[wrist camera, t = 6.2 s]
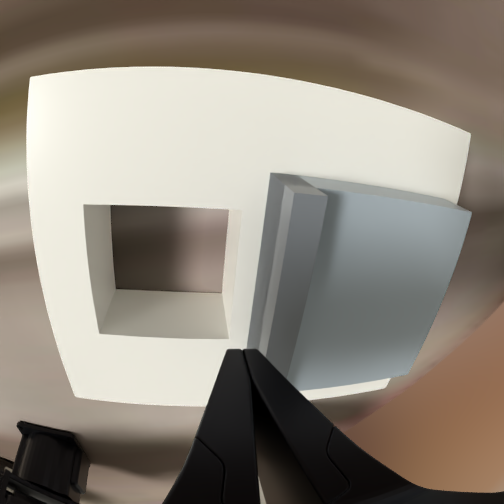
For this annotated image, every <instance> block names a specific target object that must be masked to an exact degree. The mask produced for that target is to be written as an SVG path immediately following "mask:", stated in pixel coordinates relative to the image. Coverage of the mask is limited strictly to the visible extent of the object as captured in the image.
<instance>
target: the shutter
mask: <svg viewBox="0 0 504 504" xmlns="http://www.w3.org/2000/svg"><path fill="white" fill-rule="evenodd" d="M471 215H472V212H470V211H468V210H466V209H464V208H462V207H460V206H458V205H456V204H454V203H452V202H450V201H448V200H446V199H443V198H438V197H434V196H429V195H423V194H418V193H413V192H408V191H402V190H396V189H391V188H385V187H379V186H373V185H366V184H360V183H353V182H346V181H339V180H332V179H324V178H316V177H308V176H299V175H290V174H281V173H271V172H270V179H269V186H268V194H267V202H266V209H265V217H264V224H263V232H262V239H261V247H260V254H259V261H258V269H257V276H256V283H255V291H254V298H253V305H252V312H251V320H250V327H249V334H248V341H247V348H256V349H258V350H259V351H260V352H261V353H262V354H263V355H264V356H265V357H266V358H267V359H268V360H269V361H270V362H271V363H272V364H273V365H274V366H275V367H276V369H277V370H278V371H279V372H280V373H281V374H282V375H283V376H284V377H285V378H286V379H287V380H288V381H289V382H290V383H291V384H292V385H293V386H294V387H295V388H296V389H297V390H298V391H304V390H313V389H322V388H330V387H338V386H345V385H352V384H358V383H364V382H370V381H376V380H382V379H387V378H392V377H397V376H402V375H407V374H408V373H409V371H410V369H411V367H412V365H413V363H414V361H415V359H416V357H417V355H418V353H419V351H420V349H421V347H422V345H423V343H424V341H425V339H426V337H427V335H428V333H429V330H430V328H431V326H432V324H433V322H434V319H435V317H436V315H437V312H438V310H439V308H440V305H441V303H442V301H443V298H444V296H445V293H446V291H447V288H448V285H449V283H450V280H451V277H452V275H453V272H454V269H455V266H456V263H457V261H458V258H459V255H460V252H461V249H462V245H463V242H464V239H465V236H466V232H467V229H468V226H469V222H470V219H471ZM247 348H246V349H247Z"/></svg>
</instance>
